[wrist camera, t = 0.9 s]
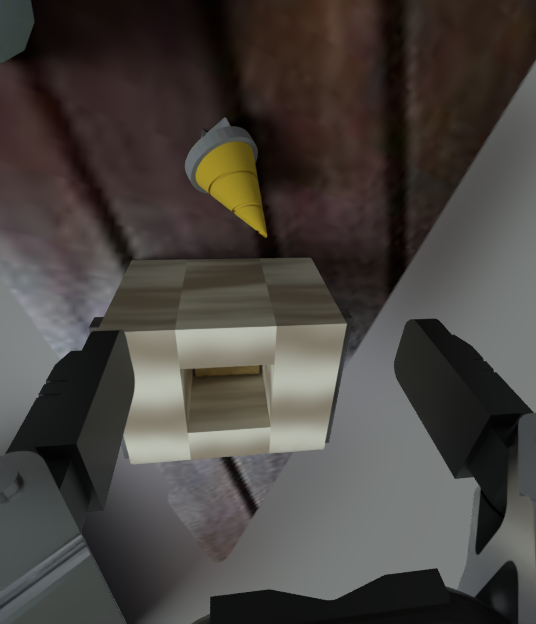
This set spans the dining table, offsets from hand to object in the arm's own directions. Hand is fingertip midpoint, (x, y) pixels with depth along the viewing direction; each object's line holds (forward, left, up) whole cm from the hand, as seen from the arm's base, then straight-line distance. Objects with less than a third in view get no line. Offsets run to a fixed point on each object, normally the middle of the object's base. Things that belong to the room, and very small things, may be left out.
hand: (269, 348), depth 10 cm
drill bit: (-1, 0, -22) cm, 22 cm away
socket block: (+13, -1, -22) cm, 26 cm away
